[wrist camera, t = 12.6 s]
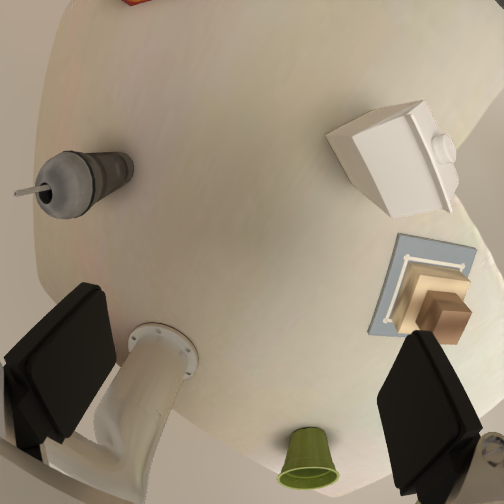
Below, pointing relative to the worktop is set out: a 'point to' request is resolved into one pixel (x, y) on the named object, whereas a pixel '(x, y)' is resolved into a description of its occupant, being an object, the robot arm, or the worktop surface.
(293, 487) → the plant pot
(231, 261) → the worktop surface
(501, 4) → the tankard
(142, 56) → the worktop surface
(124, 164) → the beverage cup
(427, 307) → the walnut block
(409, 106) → the milk carton
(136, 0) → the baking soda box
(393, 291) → the board
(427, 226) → the worktop surface
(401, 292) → the maple slab
